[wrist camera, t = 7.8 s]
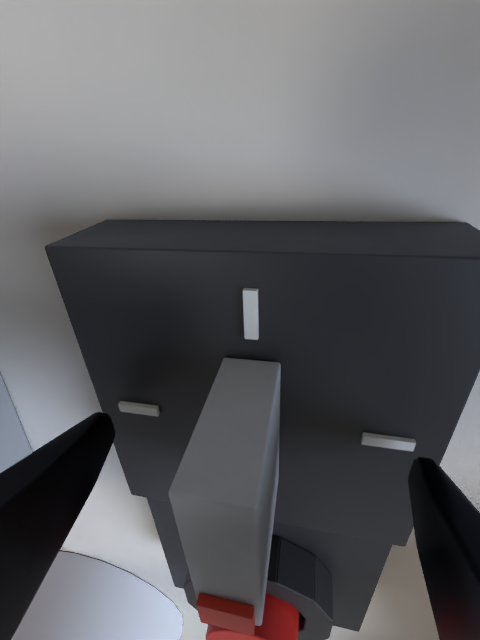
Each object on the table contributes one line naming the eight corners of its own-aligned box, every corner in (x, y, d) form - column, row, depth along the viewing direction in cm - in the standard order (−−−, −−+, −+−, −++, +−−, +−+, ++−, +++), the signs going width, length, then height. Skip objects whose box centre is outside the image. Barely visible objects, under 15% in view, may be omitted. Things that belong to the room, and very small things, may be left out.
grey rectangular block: (223, 356, 9) (160, 506, 5) (280, 361, 9) (254, 525, 5) (233, 469, 11) (195, 624, 8) (278, 476, 11) (259, 641, 8)
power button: (212, 573, 15) (200, 622, 13) (301, 593, 14) (299, 648, 12) (219, 609, 17) (209, 655, 15) (296, 629, 16) (294, 680, 14)
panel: (106, 219, 11) (38, 248, 8) (468, 222, 9) (533, 262, 6) (159, 438, 16) (129, 498, 14) (389, 473, 14) (406, 552, 12)
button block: (162, 451, 17) (124, 531, 14) (385, 487, 15) (405, 592, 11) (186, 548, 22) (162, 624, 19) (355, 585, 20) (363, 678, 16)
